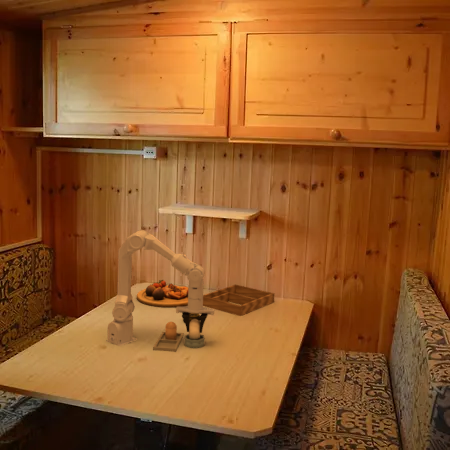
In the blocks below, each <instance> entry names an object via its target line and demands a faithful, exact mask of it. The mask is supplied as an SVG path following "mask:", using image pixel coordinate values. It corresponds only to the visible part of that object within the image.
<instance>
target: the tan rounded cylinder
mask: <svg viewBox="0 0 450 450" xmlns="http://www.w3.org/2000/svg"><path fill="white" fill-rule="evenodd" d="M188 334H189V338H191V339H198V338H200V334H201V333H200V321H199V320H197V319H193V320H191V321H190V323H189V332H188Z"/></svg>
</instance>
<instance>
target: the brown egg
mask: <svg viewBox="0 0 450 450" xmlns="http://www.w3.org/2000/svg"><path fill="white" fill-rule="evenodd" d="M177 327H178V325H177V324H176V322H174V321H168V322H167V323H166V324H165V329H164V330H165V331H164V332H165V339H168V340H176V338H177V333H178V331H177V329H178V328H177Z"/></svg>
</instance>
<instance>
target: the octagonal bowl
mask: <svg viewBox="0 0 450 450" xmlns="http://www.w3.org/2000/svg"><path fill="white" fill-rule="evenodd" d="M204 346H205V336H204V334H202V333H200V338H198V339H191V338H189V333H188V334H186V335H185V334H184V347H186V348H188V349H201V348H202V347H204Z"/></svg>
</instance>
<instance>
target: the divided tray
mask: <svg viewBox="0 0 450 450" xmlns="http://www.w3.org/2000/svg"><path fill="white" fill-rule="evenodd" d="M184 337H185V334H184V333H183V332H177V338H176V340H168V339H165V331H162V332H161V334H160V335H159V337H158V338H157V340H156V341H155V343H154V345H153V346H152V351H160V352H161V351H162V352H174V353H176V352H177V350H178V348H179V346H180V344H181V342H182V340H183V339H184Z"/></svg>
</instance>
